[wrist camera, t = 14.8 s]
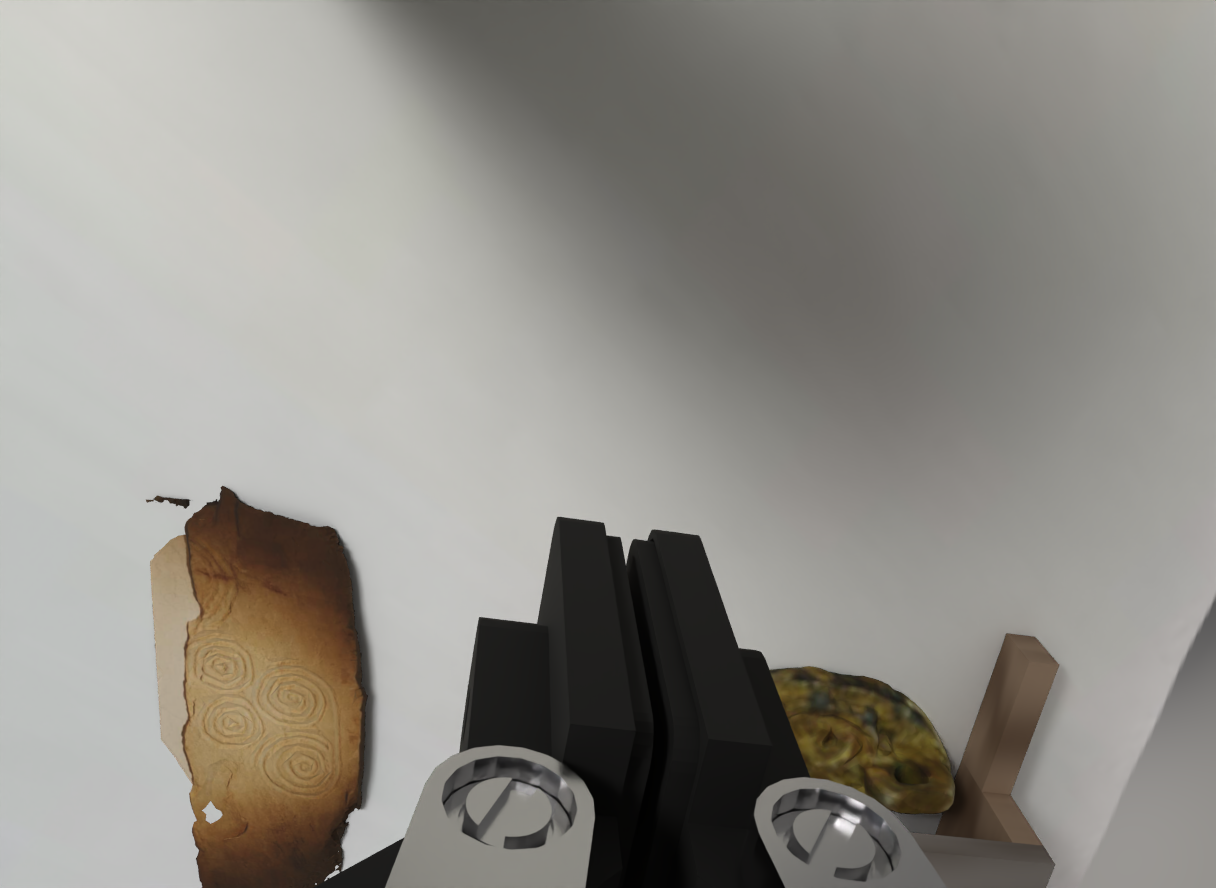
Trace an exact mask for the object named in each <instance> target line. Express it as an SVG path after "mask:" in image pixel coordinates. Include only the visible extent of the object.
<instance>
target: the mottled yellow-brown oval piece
mask: <svg viewBox="0 0 1216 888" xmlns="http://www.w3.org/2000/svg"><path fill="white" fill-rule="evenodd" d="M770 673H771V675H772V678H773V681H774V683H775V686H776V689H777V691H778V694H779V696H780V699H781V702H782V704H783V707H784V709H785V712H786V715H787V717H788V720H789V722H790V725H791V728H792V730H793V733H794V736H795V738H796V741H797V743H798V746H799V749H800V751H801V754H802V756H803V759H804V762H805V764H806V767H807V769H808V772H809V775H810V777H811V778H816V779H825V780H829V781H833V782H836V783H839V784H842V785H846V786H849V787H852V788H854V789H856V790H858V791H860V792H862V793H864V794H866V795H868V796H870V797H871V798H873V799H875V800H876V801H878V802H879V803H880V804H882V805H883V806H884V807H886V808H887V809H888V810H892V811H895V812H898V813H905V814H922V813H924V814H936V813H941V812H943V811H946V810H948V809H949V808H950V806H951V805H952V804H953V801H954V795H955V784H954V780H953V776H952V775H951V765H950V761H949V758H948V756H947V753H946V751H945V749H944V746H943V744H942V742H941V740H940V738H939V736H938V734H937V732H936V730H935V729H934V727H933V725H932V723H931V722H930V720H929V719H928V717H927V716H926V715H925V713H924V712H923V711H922V710H921V709H920V708H919V707H918V706H917V705H916V704H915V703H914V702H913V701H911V700H910V699H909V698H908V697H906V696H905V695H904V694H902V693H901V692H899V691H896V690H894V689H892V688H891V687H890V686H889V685H888V684H886V683H883V682H881V681H879V680H876V679H873V678H869V677H865V676H852V675H841V674H837V673H832V672H828V671H825V670H823V669H821V668H816V667H810V666H808V667H802V668H786V669H776V670H770Z"/></svg>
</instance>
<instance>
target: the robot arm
mask: <svg viewBox="0 0 1216 888" xmlns="http://www.w3.org/2000/svg"><path fill="white" fill-rule="evenodd" d="M313 888H947V887H946V885H945V884H944V882H943V881H942V879H941V878H940V876H939V875H938V873H937V872H936V870H935V869H934V867H933V866H932V865H931V863H930V862H929V860H928V859H927V857H926V856H925V854H924V853H923V851H922V850H921V848H920V847H919V845H918V844H917V842H916V841H915V839H914V838H913V836H912V835H911V833H910V832H909V831H908V829H907V828H906V827H905V826H904V825H903V824H902V822H901V821H900V820H899V819H898V818H897V817H896V816H895V814H894V813H892V812H891V811H890V810H888V809H887V808H886V807H884V806H883V805H882V804H880V803H879V802H878V801H876V800H875V799H873V798H871V797H870V796H868V795H866V794H864V793H862V792H860V791H858V790H856V789H854V788H852V787H849V786H846V785H842V784H839V783H836V782H833V781H829V780H825V779H816V778H811V777H810V775H809V772H808V769H807V767H806V764H805V762H804V759H803V756H802V754H801V751H800V749H799V746H798V743H797V741H796V738H795V736H794V733H793V730H792V728H791V725H790V722H789V720H788V717H787V715H786V712H785V709H784V707H783V704H782V702H781V699H780V696H779V694H778V691H777V689H776V686H775V683H774V681H773V678H772V675H771V673H770V670H769V668H768V665H767V662H766V660H765V658H764V656H763V655H762V653H761V652H759V651H756V650H749V649H741V648H738V645H737V642H736V639H735V637H734V634H733V631H732V628H731V625H730V622H729V619H728V616H727V613H726V610H725V608H724V605H723V602H722V599H721V596H720V593H719V590H718V587H717V584H716V581H715V579H714V576H713V573H712V570H711V567H710V564H709V561H708V558H707V555H706V553H705V550H704V547H703V544H702V541H701V538H700V537H699V535H691V534H684V533H676V532H669V531H661V530H652V531H651V533H650V535H649V538H648V540H647V541H644V540H637V539H633V541H632V543H631V546H630V550H629V554H628V559H627V564H625V558H624V553H623V547H622V542H621V538H620V537H614V536H606V530H605V525H604V523H601V522H594V521H586V520H579V519H571V518H564V517H557V519H556V523H555V527H554V532H553V537H552V542H551V548H550V554H549V560H548V565H547V571H546V577H545V582H544V588H543V594H542V599H541V605H540V611H539V616H538V622H537V624H533V623H524V622H516V621H508V620H499V619H491V618H483V617H479V621H478V626H477V632H476V638H475V645H474V651H473V658H472V664H471V671H470V677H469V684H468V691H467V698H466V705H465V712H464V720H463V727H462V735H461V743H460V752H459V753H458V754H455V755H452V756H451V757H450V758H448V759H447V760H445V761H444V762H443V763H441V764H440V765H438V766H437V767H436V768H435V769H434V771H433V772H432V774H431V775H430V777H429V778H428V780H427V781H426V783H425V785H424V788H423V791H422V793H421V796H420V798H419V801H418V804H417V806H416V809H415V811H414V814H413V817H412V819H411V822H410V824H409V827H408V829H407V832H406V835H405V837H404V838H403V839H401V840H399V841H397V842H395V843H394V844H392V845H390V846H388V847H386V848H384V849H383V850H381V851H379V852H377V853H375V854H373V855H372V856H370V857H368V858H366V859H364V860H363V861H361V862H359V863H357V864H355V865H353V866H352V867H350V868H348V869H346V870H344V871H342V872H341V873H339V874H337V875H335V876H333V877H332V878H330V879H328V880H326V881H324V882H322V883H321V884H319V885H317V886H315V887H313Z"/></svg>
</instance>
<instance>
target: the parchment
mask: <svg viewBox="0 0 1216 888" xmlns="http://www.w3.org/2000/svg"><path fill="white" fill-rule="evenodd" d="M221 490H222V491H221V493H220V500H219V501H217V499H216V501H213V502H209V503H207V505H205V506H204V507H203V508H202V509H201V510H200V511H198V512H196V513H194V514H193V516H192V518H190V519H189V520H188V521H187V522H186V524H185V533H186V535H181V536H177V537H176V538H174V539H172V540H170V541H169V542H168V543H167V544H166V545H165V546H164V547H163V548H162V549H161V550H160V551H158V552H157V553H156V554H155V555H154V558H153V559H152V560H151V561H150V566H151V586H152V600H153V616H154V618H153V619H154V630H155V634H154V636H155V641H156V643H155V649H156V664H157V678H158V694H159V710H160V725H161V727H160V729H161V740H162V741H163V743H164V744H165V745H166V746H167V748H168V749H169V751H170V752H171V753H172V754H173V755H174V757H175V758H176V760H177V761H178V763H179V765H180V767H181V768H182V769H183V770H184V772H185V774H186V775H187V777H188V778H189V780H190V781H191V783H192V784H193V786H192V790H191V792H190V793H189V795H190V802H191V806H192V809H193V812H194V815H195V817H196V819H197V821H196V822H194V824H193V828H192V833H193V837H194V839H195V845H196V847H197V848H198V849H199V853H198V856H197V858H196V860H197V865H198V869H199V878H200V882H201V883H202V888H313V887H315V886H317V885H319V884H321V883H322V882H324V880H325V879H326V877H327V876H328V875H329V874H331V873H333V872H334V871H335V866H336V865H338V866H339V867H338V868H337V869H336V870H339V871H340V870H341V866H342V859H343V858H342V849H341V847H340V845H341V843H340V839H341V838H342V836H343V834H344V830H345V827H346V826H347V825H348V823H349V822H347V823H346V822H345V821H346V819H347V818H348V814H349V813H351V812H352V811H354V809H355V808H357V809H360V807H361V803H362V801H361V800H362V796H361V793H362V792H361V785H362V778H363V770H364V748H365V746H364V743H365V728H364V726H365V706H366V701H367V697H368V695H367V694H366V692H365V689H364V688H363V687H362V684H361V682H362V670H361V653H360V648H359V642H358V637H357V631H356V629H355V621H354V620H355V616H354V611H355V610H354V609H353V603H352V602H353V600H352V586H351V585H352V583H351V579H350V572H349V568H348V565H347V561H346V558H345V557H344V554H343V553H342V552H343V547H342V545H341V546H340V545H339V540H338V537H337V535H336V532H335V530H334V529H333V528H331V527H329V526H323V527H316V526H311V525H309V524H308V523H303V522H301V521H296V520H293V519H288V518H285V517H284V516H280V515H274V514H273V513H272V512H263V511H261V510H257V509H254V508H253V507H250V506H248V505H246V504H244V503H241V502H240V501H239V500H238V499H237V498H236V497H235V495H234V493H233V492H232V491H231V490H230V489H228V488H226V487H224V486H222V487H221ZM154 500H156V501H158V502H161V503H162V502H163V501H164V500H168V501H169V502H170V504H171V503H173V504H176V506H178V505H180V506H183V507H185V508H187V507H188V506H189V499H172V498H163V497H160V496H156V497H155V498H154ZM154 500H146V501H147V502H150V501H154ZM210 801H211V802H212V803H213V805H214V806H215V808H216V809H218V810H220V811H221V812H222V814H223V816H222V817H221V818H220V819H219V820H218V821H216V822H214V823H212V824H210V823H209V822H207V821H206V820H205V819H206V814H205V813H204V812H203V811H202V810H203V809H204V808H205V807H206V806H207V805H208V803H209V802H210ZM338 851H339V852H338ZM339 863H341V864H340V865H339ZM328 879H329V878H328ZM315 883H317V885H315Z"/></svg>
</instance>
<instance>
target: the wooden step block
mask: <svg viewBox="0 0 1216 888" xmlns="http://www.w3.org/2000/svg"><path fill="white" fill-rule="evenodd" d="M1058 667H1059V664H1058V663H1057V662H1056V661H1055V660H1054V658H1053V657H1052V656H1051V655H1050V654H1049V653H1048V651H1047V650H1046V649H1045V648H1044V647H1043V646H1042V644H1041V643H1040V642H1039V641H1038V640H1037V639H1036V638H1035V637H1031V636H1023V635H1015V634H1006V636H1005V639H1004V642H1003V645H1002V648H1001V651H1000V653H999V656H998V659H997V662H996V665H995V668H994V670H993V673H992V676H991V679H990V682H989V684H988V687H987V690H986V693H985V696H984V699H983V701H982V704H981V707H980V710H979V713H978V716H977V718H976V721H975V724H974V727H973V730H972V732H971V735H970V738H969V741H968V744H967V747H966V749H965V752H964V755H963V758H962V761H961V764H960V766H959V769H958V772H957V775H956V778H955V780H954V784H955V795H954V801H953V804H952V805H951V806H950V808H949V809H948V810H946V811H944V812H943V814H942V817H941V820H940V823H939V826H938V828H937V831H936V834H935V835H932V834H922V833H912V832H910V833H911V835H912V836H913V838H914V839H915V841H916V842H917V844H918V845H919V847H920V848H921V850H922V851H923V853H924V854H925V856H926V857H927V859H928V860H929V862H930V863H931V865H932V866H933V867H934V869H935V870H936V872H937V873H938V875H939V876H940V878H941V879H942V881H943V882H944V884H945V885H946V887H947V888H1046V886H1047V884H1048V881H1049V879H1050V876H1051V874H1052V871H1053V869H1054V866H1055V863H1054V862H1053V860H1052V859H1051V857H1050V856H1049V854H1048V853H1047V851H1046V849H1045V848H1044V846H1043V845H1042V843H1041V842H1040V840H1039V839H1038V837H1037V836H1036V834H1035V832H1034V831H1033V829H1032V828H1031V826H1030V825H1029V823H1028V822H1027V820H1026V818H1025V817H1024V815H1023V814H1022V812H1021V811H1020V809H1019V808H1018V806H1017V804H1016V803H1015V801H1014V800H1013V798H1012V797H1011V795H1010V794H1011V791H1012V789H1013V786H1014V783H1015V781H1016V778H1017V776H1018V773H1019V770H1020V768H1021V765H1022V762H1023V760H1024V757H1025V754H1026V752H1027V749H1028V746H1029V744H1030V741H1031V739H1032V736H1033V733H1034V731H1035V728H1036V725H1037V723H1038V720H1039V717H1040V715H1041V712H1042V710H1043V707H1044V704H1045V702H1046V699H1047V696H1048V694H1049V691H1050V688H1051V686H1052V683H1053V680H1054V678H1055V675H1056V673H1057V670H1058Z"/></svg>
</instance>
